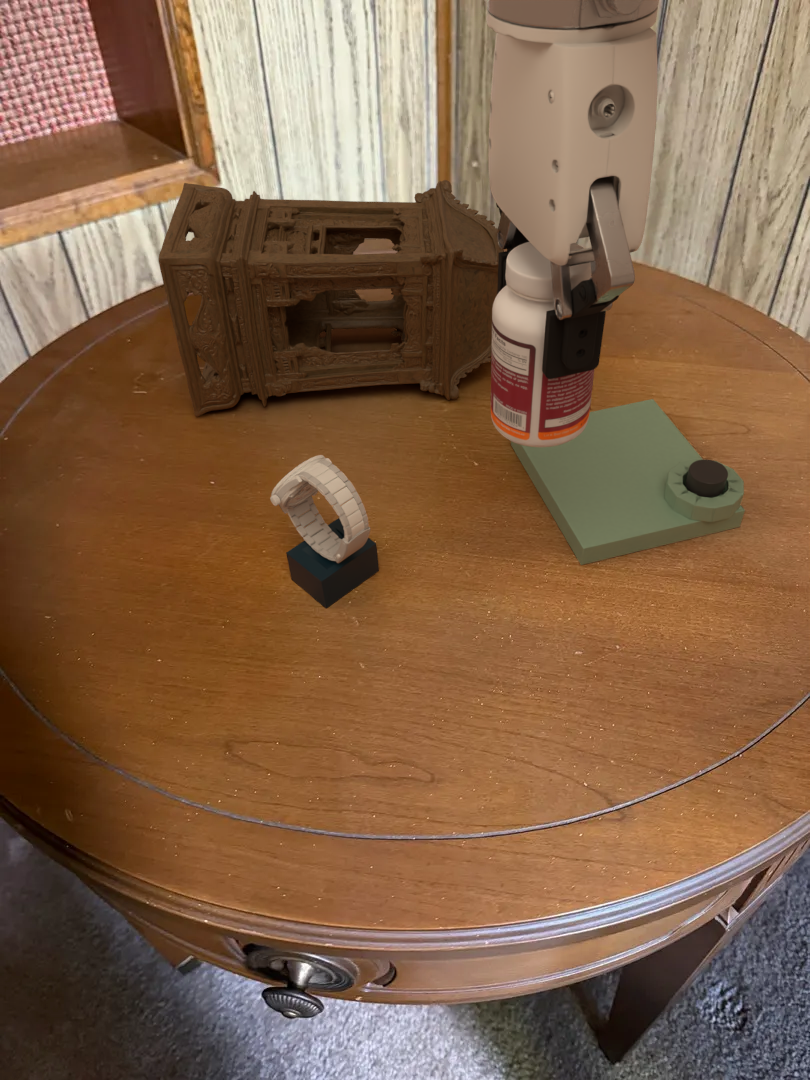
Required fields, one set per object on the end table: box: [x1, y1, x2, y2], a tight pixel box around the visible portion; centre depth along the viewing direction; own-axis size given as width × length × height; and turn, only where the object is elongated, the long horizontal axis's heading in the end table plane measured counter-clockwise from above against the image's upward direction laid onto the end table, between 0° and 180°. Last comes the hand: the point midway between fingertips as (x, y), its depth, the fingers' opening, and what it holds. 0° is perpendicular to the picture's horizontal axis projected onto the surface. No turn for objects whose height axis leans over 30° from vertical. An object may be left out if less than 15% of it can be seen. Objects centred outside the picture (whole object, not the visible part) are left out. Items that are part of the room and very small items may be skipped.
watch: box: [269, 454, 380, 609], centre depth 64 cm, size 6×8×11 cm
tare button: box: [686, 458, 728, 498], centre depth 68 cm, size 3×3×2 cm
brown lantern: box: [158, 179, 505, 417], centre depth 83 cm, size 35×18×18 cm, turn 92°
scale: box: [510, 398, 746, 566], centre depth 73 cm, size 16×14×4 cm
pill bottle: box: [490, 242, 596, 447], centre depth 50 cm, size 6×6×11 cm
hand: (545, 337), depth 50 cm, fingers closed on pill bottle, 6 cm apart
